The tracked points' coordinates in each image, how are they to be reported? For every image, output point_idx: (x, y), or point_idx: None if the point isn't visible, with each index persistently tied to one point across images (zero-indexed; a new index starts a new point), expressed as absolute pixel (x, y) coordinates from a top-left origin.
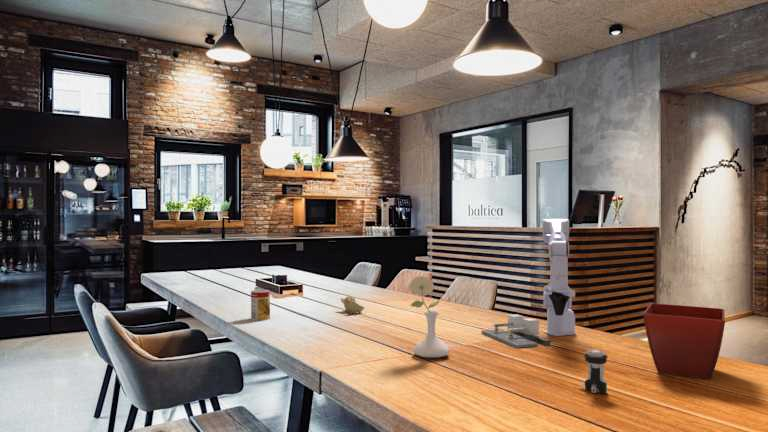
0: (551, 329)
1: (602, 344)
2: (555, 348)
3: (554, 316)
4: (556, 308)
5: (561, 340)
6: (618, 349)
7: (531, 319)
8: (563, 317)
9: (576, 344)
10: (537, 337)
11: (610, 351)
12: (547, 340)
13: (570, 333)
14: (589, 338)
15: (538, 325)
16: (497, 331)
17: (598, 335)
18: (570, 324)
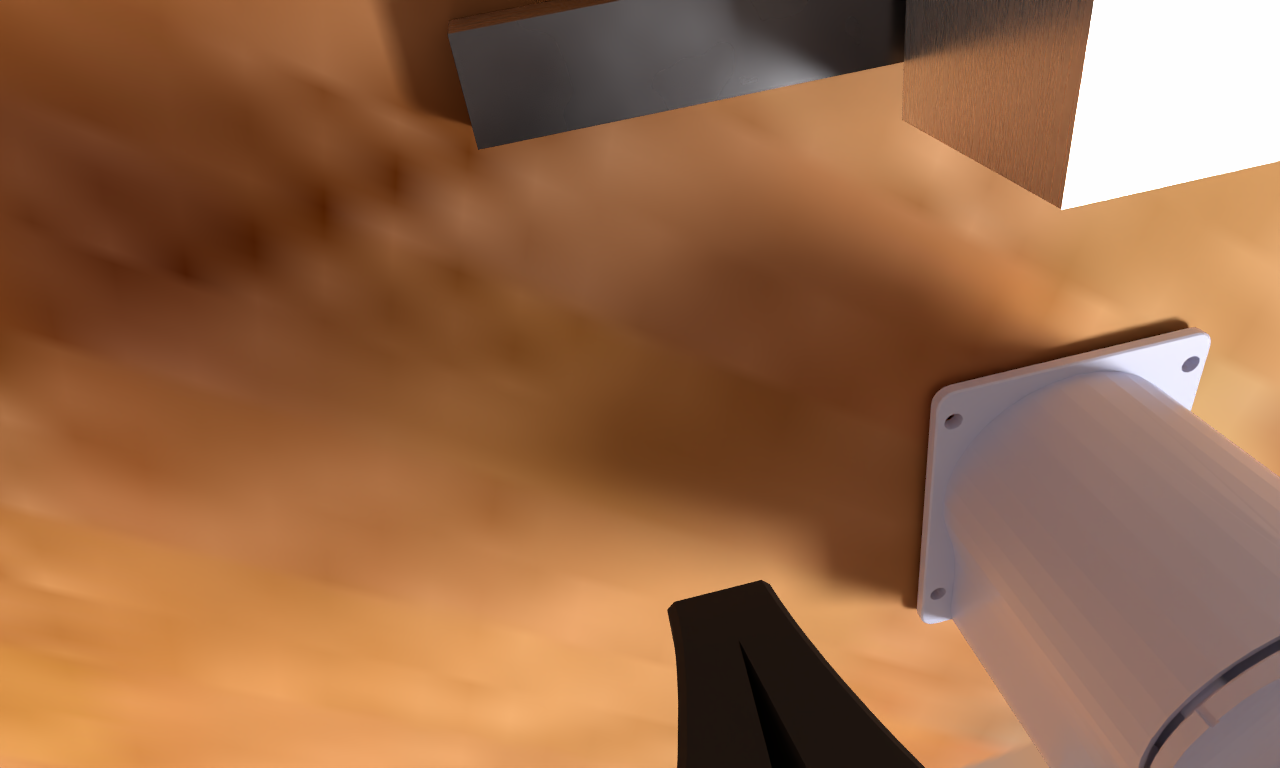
0: (1069, 418)
1: (454, 697)
2: (222, 105)
3: (1165, 584)
4: (721, 749)
5: (723, 388)
6: (221, 760)
7: (1224, 61)
8: (1071, 672)
9: (480, 479)
10: (754, 7)
11: (109, 686)
12: (484, 92)
13: (931, 570)
14: None
15: (991, 159)
16: None
17: None
18: (1009, 657)
